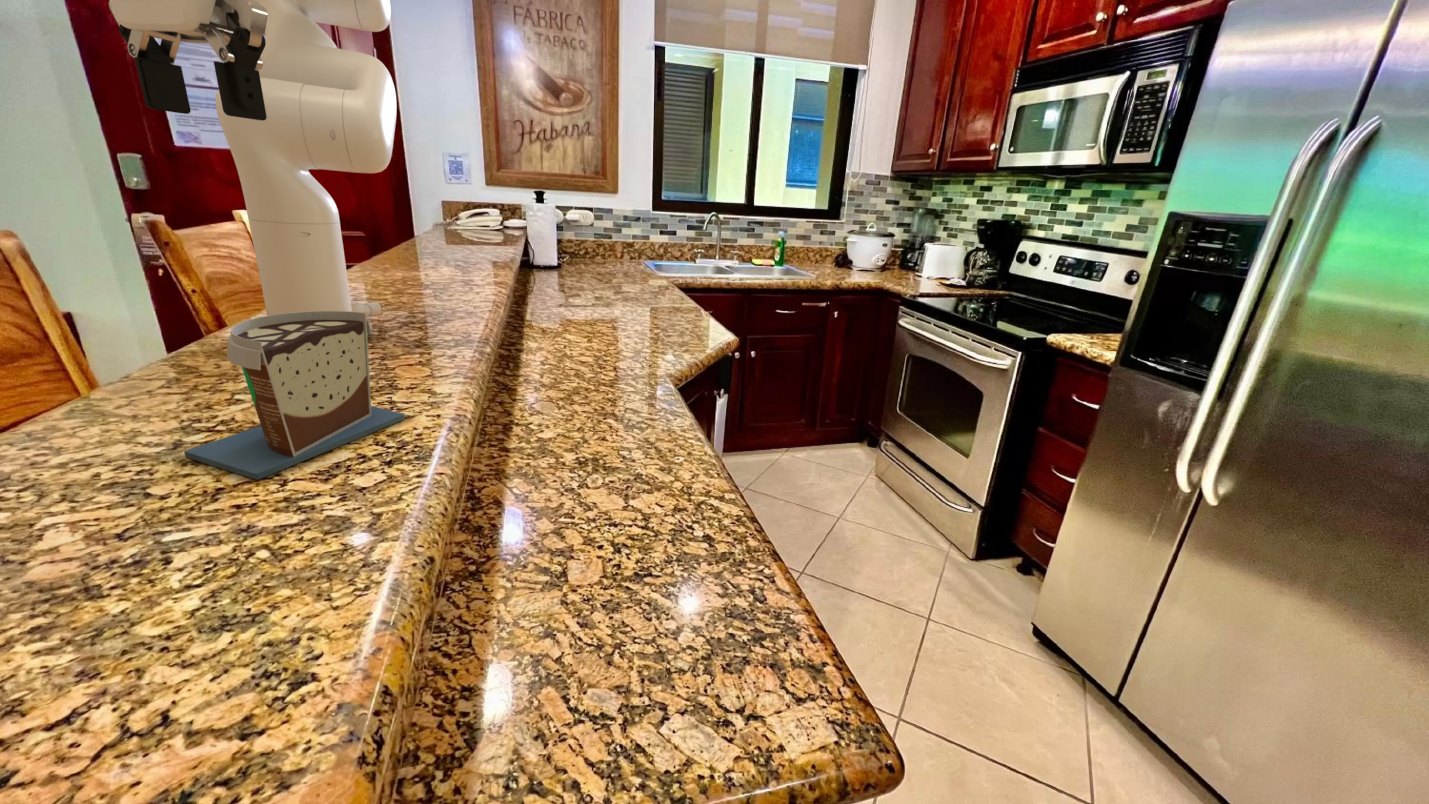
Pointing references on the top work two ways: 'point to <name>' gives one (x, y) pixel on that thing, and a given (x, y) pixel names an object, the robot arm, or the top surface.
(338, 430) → the food container
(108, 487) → the top surface
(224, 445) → the pad
